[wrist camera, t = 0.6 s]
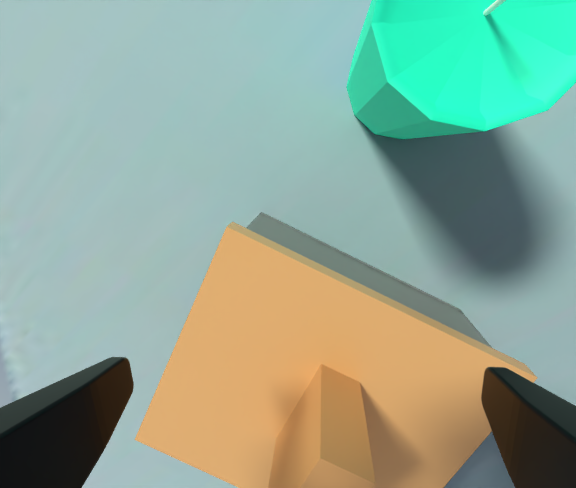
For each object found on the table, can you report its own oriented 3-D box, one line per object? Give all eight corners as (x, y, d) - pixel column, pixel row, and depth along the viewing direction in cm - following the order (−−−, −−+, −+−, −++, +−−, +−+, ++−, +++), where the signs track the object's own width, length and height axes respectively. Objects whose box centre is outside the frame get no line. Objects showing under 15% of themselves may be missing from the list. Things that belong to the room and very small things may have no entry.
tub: (459, 309, 22) (508, 367, 16) (366, 439, 25) (379, 526, 19) (261, 212, 21) (238, 236, 16) (194, 358, 25) (155, 422, 19)
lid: (513, 351, 17) (638, 486, 10) (379, 517, 21) (407, 695, 14) (238, 217, 16) (179, 266, 10) (152, 411, 20) (67, 544, 13)
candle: (421, 157, 20) (560, 173, 8) (327, 110, 19) (333, 56, 8) (483, 51, 18) (774, -123, 6) (381, -3, 18) (490, -282, 6)
